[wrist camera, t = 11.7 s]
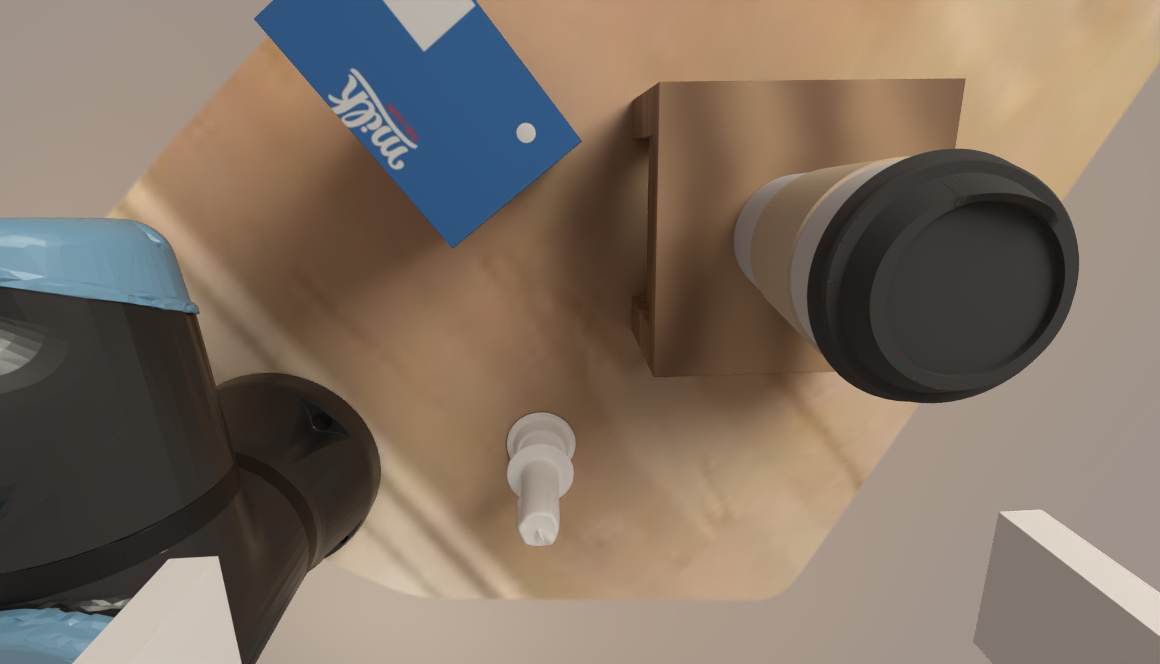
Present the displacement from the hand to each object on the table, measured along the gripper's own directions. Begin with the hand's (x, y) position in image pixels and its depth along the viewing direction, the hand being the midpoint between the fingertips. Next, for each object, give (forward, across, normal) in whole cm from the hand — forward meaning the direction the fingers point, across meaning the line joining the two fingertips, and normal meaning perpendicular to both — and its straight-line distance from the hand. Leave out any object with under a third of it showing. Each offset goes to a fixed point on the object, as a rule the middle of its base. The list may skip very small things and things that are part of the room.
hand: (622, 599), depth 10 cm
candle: (+34, -2, -14) cm, 37 cm away
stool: (+34, +13, +3) cm, 37 cm away
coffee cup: (+24, +13, +3) cm, 28 cm away
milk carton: (+34, -5, +10) cm, 36 cm away
